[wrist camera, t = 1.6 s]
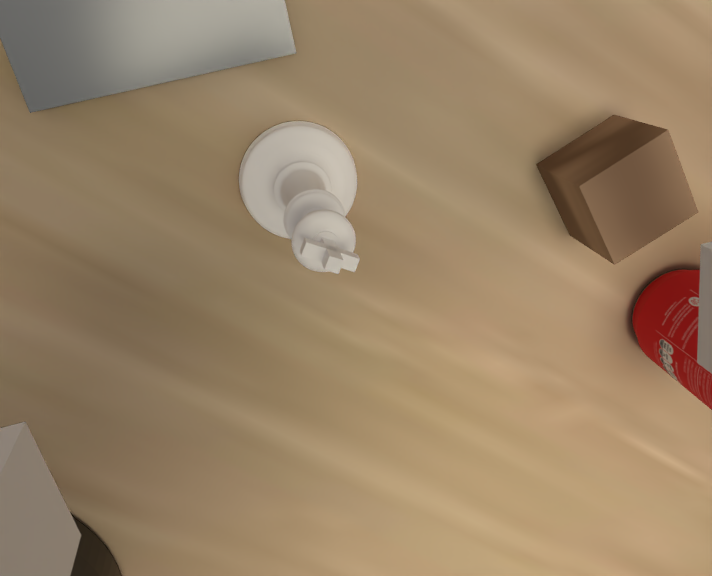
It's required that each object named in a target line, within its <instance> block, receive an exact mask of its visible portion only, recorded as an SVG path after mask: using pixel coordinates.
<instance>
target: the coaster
mask: <svg viewBox="0 0 712 576" xmlns="http://www.w3.org/2000/svg"><path fill="white" fill-rule="evenodd" d="M0 39H1V41H2V44H3V46H4V49H5V51H6V54H7V56H8V59H9V61H10V64H11V66H12V69H13V71H14V74H15V76H16V79H17V81H18V84H19V86H20V89H21V91H22V94H23V96H24V99H25V102H26V104H27V107H28V109H29V112H30V113H31V112H35V111H40V110H44V109H49V108H53V107H58V106H62V105H67V104H71V103H76V102H80V101H85V100H89V99H94V98H98V97H102V96H107V95H111V94H116V93H120V92H125V91H129V90H134V89H138V88H143V87H147V86H152V85H156V84H161V83H165V82H170V81H174V80H179V79H183V78H188V77H192V76H197V75H201V74H205V73H210V72H214V71H219V70H223V69H228V68H232V67H237V66H241V65H246V64H250V63H255V62H259V61H264V60H268V59H273V58H277V57H282V56H286V55H291V54H295V53H296V49H295V44H294V40H293V35H292V31H291V26H290V22H289V17H288V13H287V8H286V4H285V0H0Z"/></svg>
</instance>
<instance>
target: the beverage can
mask: <svg viewBox="0 0 712 576" xmlns="http://www.w3.org/2000/svg"><path fill="white" fill-rule="evenodd" d="M699 284H700V270H688V269H677V270H672V271H669V272H666V273H664V274H662V275H660V276H658V277H657V278H655V279H654V280H653V281H651V282H650V283H649V284H648V285H647V286H646V287H645V288H644V289H643V291H642V292H641V293H640V295H639V297H638V298H637V300H636V302H635V305H634V308H633V312H632V326H633V330H634V332H635V334H636V336H637V339H638V342H639V345H640V347H641V349H642V351H643V352H644V353H645V354H646V355H647V356H648V357H649V358H650V359H651V360H652V361H654V362H655V363H656V364H657V365H658V366H660V367H661V368H662V369H663V370H664V371H666V372H667V373H668V374H669V375H670V376H672V377H673V378H674V379H675V380H676V381H678V382H679V383H680V384H681V385H683V386H684V387H685V388H686V389H687V390H689V391H690V392H691V393H692V394H693V395H695V396H696V397H697V398H698V399H699V400H701V401H702V402H703V403H704V404H705V405H707V406H708V407H709V408H710V409H711V410H712V374H711V373H710V372H709V371H707V370H706V369H705V368H703V367H702V366H701V365H699V364H698V363H697V349H698V317H699Z"/></svg>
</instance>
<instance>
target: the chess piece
mask: <svg viewBox="0 0 712 576" xmlns="http://www.w3.org/2000/svg"><path fill="white" fill-rule="evenodd" d="M239 187H240V193H241V196H242V199H243V202H244V204H245V206H246V208H247V210H248V211H249V213H250V214H251V215H252V217H253V218H254V219H255V220H256V221H257V222H258V223H259V224H260V225H261V226H262V227H263V228H265V229H266V230H267V231H269V232H271V233H273V234H275V235H277V236H280V237H283V238H288V239H291V240H292V249H293V253H294V255H295V257H296V258H297V260H298V261H299V262H300V263H301V264H302V265H303V266H305V267H306V268H308V269H310V270H313V271H317V272H328V271H330V272H333V273H337V274H339V271H340V269H341V268H343V269H346V270H349V271H352V272H355V270H356V268H357V265H358V263H359V260H360V258H359V256H358V254H355V253H353V251H354V249H355V244H356V236H355V232H354V229H353V227H352V225H351V223H350V222H349V221H348V219H346V218H345V216H346V215H347V213H348V212H349V210H350V208H351V207H352V204H353V202H354V199H355V196H356V190H357V173H356V167H355V163H354V160H353V157H352V155H351V153H350V151H349V149H348V148H347V146H346V145H345V143H344V142H343V141H342V140H341V139H340V138H339V137H338V136H337V135H336V134H335V133H333V132H332V131H331V130H329V129H327V128H325V127H323V126H321V125H318V124H315V123H312V122H306V121H291V122H285V123H281V124H278V125H276V126H273V127H271V128H269V129H268V130H266V131H265V132H263V133H262V134H261V135H259V136H258V137H257V138H256V139H255V140H254V141H253V142H252V144H251V145H250V146H249V148H248V149H247V151H246V153H245V155H244V157H243V160H242V163H241V166H240V172H239Z"/></svg>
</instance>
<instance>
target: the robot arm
mask: <svg viewBox="0 0 712 576" xmlns="http://www.w3.org/2000/svg"><path fill="white" fill-rule="evenodd" d="M697 363H698V364H699V365H701V366H702V367H703V368H705V369H706V370H707V371H709V372H710V373H711V374H712V242H708V243H704V244H701V252H700V284H699V317H698V349H697ZM0 576H121V573H120V571H119V569H118V566H117V564H116V562H115V560H114V559H113V557H112V555H111V554H110V552H109V551H108V549H107V548H106V547H105V546H104V544H103V543H102V542H101V541H100V540H99V539H98V538H97V537H96V535H95V534H93V533H92V532H91V531H90V530H89V529H88V528H87V527H85V526H84V525H83V524H82V523H80V522H79V521H78V520H76V519H75V518H73V517H72V515H71V513H70V511H69V509H68V507H67V505H66V503H65V501H64V499H63V497H62V495H61V493H60V491H59V489H58V487H57V485H56V483H55V481H54V479H53V477H52V475H51V473H50V471H49V469H48V467H47V465H46V462H45V460H44V458H43V456H42V454H41V452H40V450H39V448H38V446H37V444H36V442H35V440H34V438H33V436H32V434H31V432H30V430H29V428H28V426H27V424H26V422H22V423H18V424H14V425H10V426H7V427H3V428H0Z"/></svg>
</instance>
